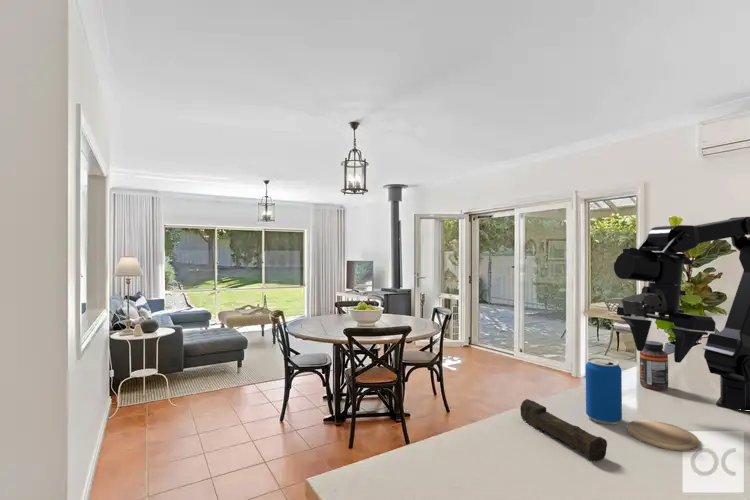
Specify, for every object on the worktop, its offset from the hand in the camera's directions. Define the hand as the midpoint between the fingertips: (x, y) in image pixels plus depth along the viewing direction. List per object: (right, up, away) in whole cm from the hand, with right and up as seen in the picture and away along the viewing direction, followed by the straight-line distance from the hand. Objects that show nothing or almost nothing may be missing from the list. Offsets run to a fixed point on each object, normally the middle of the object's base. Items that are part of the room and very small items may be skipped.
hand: (657, 356), depth 86 cm
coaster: (-7, -12, -10) cm, 17 cm away
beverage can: (-13, -13, -3) cm, 18 cm away
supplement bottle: (+10, -12, +16) cm, 22 cm away
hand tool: (-27, -13, -10) cm, 32 cm away
